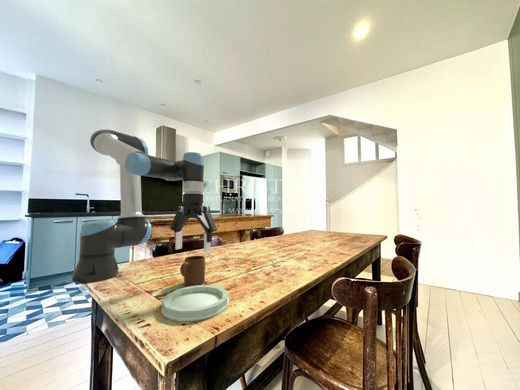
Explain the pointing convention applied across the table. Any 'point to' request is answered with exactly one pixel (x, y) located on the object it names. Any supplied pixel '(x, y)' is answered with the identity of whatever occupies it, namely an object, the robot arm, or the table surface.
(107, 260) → the robot arm
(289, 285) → the table surface
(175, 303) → the shallow round dish
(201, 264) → the mug
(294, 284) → the table surface
